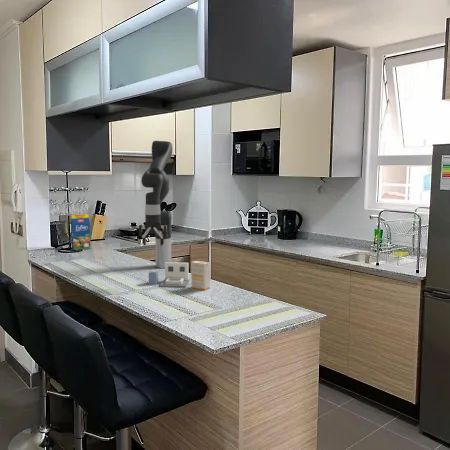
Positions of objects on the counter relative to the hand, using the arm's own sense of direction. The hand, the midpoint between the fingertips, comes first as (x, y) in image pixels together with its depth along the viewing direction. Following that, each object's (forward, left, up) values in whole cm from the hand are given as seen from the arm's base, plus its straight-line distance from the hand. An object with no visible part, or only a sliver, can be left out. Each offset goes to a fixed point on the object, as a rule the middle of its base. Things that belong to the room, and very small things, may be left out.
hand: (153, 245), depth 231 cm
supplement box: (+7, +25, -20) cm, 33 cm away
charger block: (0, 0, -20) cm, 20 cm away
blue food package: (-93, -74, -20) cm, 121 cm away
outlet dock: (0, +11, -20) cm, 22 cm away
